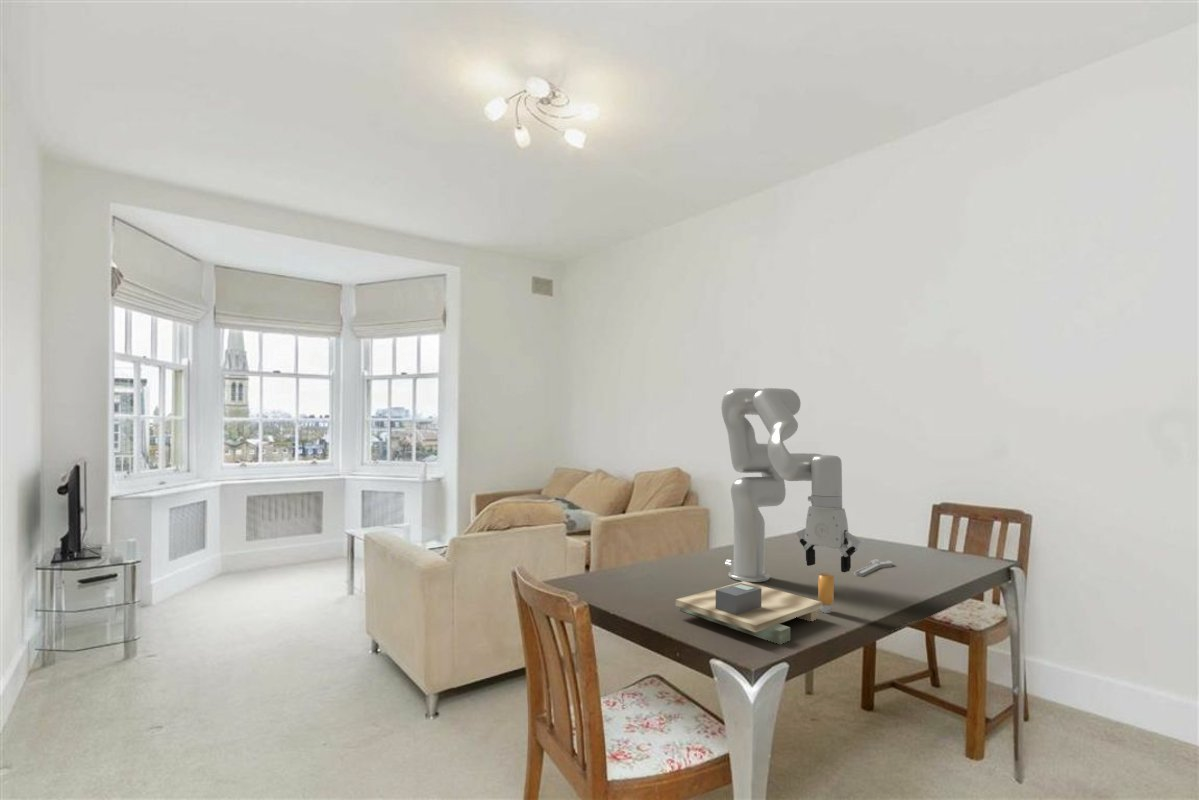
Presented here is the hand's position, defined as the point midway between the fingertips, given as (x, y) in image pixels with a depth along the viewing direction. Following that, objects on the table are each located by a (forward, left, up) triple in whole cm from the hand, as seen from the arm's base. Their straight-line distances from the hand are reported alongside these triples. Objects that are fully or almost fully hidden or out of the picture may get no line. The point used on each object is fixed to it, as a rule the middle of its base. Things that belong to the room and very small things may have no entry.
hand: (827, 568), depth 158 cm
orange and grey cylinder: (-1, 0, -12) cm, 11 cm away
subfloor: (-10, -21, -12) cm, 26 cm away
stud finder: (-8, -28, -7) cm, 29 cm away
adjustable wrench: (-15, +55, -12) cm, 58 cm away
